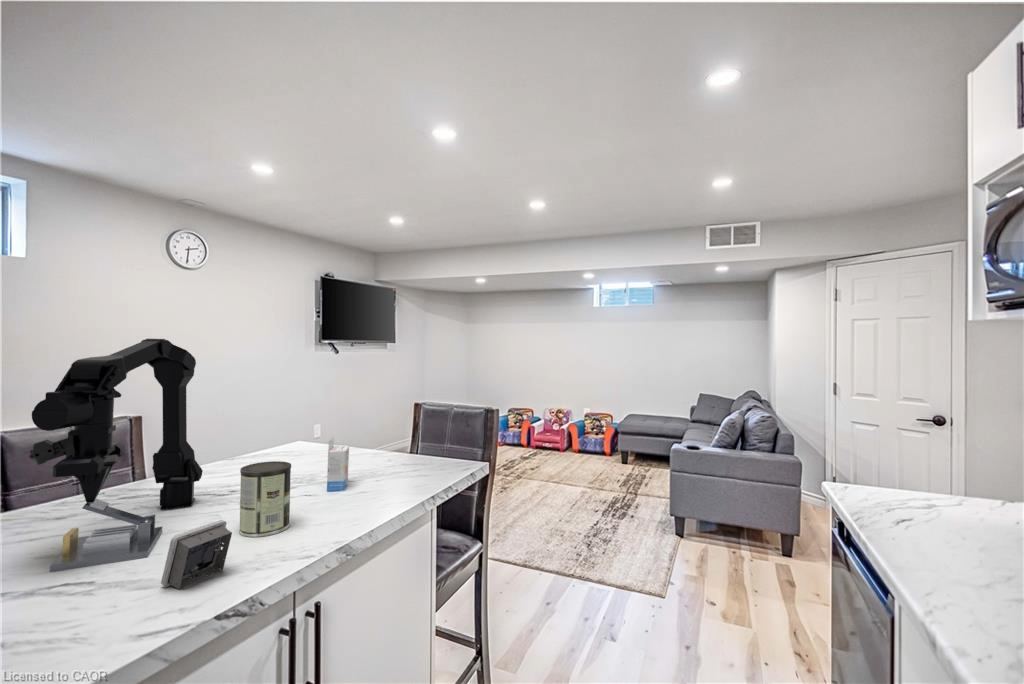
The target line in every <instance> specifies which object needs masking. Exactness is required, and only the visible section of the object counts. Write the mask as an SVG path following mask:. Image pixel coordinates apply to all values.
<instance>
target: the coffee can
mask: <svg viewBox="0 0 1024 684" xmlns="http://www.w3.org/2000/svg"><path fill="white" fill-rule="evenodd" d="M291 469H292V464H291V463H290V462H288V461H280V460H279V461H277V460H275V461H274V460H273V461H261V462H256V463H251V464H247V465H244V466H242V467H241V468H240V470H239V471H240V494H239V495H240V497H239V499H240V500H239V501H240V503H239V530H238V532H239V535H241V536H243V537H249V538H262V537H267V536H273V535H276V534H279V533H282V532H284V531H285V530H287V529H289V527H290V525H291V522H290V520H291V519H290V512H291V511H290V510H291V509H290V508H291V507H290V506H291V472H292V471H291Z"/></svg>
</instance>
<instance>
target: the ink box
mask: <svg viewBox="0 0 1024 684" xmlns="http://www.w3.org/2000/svg"><path fill="white" fill-rule="evenodd" d="M334 441H335V436H334V435H332V436H331V438H330V439H329V440H328V448H327V449H328V450H327V453H328V454H327V473H326V474H327V475H326V476H327V477H326V478H327V479H326V481H327V482H326V492H341V491H340V490H344V491H345V489H346V488H347V486H348V484H349V462H350V460H349V458H350V457H349V455H350V445H334ZM347 483H348V484H347ZM346 485H347V486H346ZM345 487H346V488H345Z"/></svg>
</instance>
